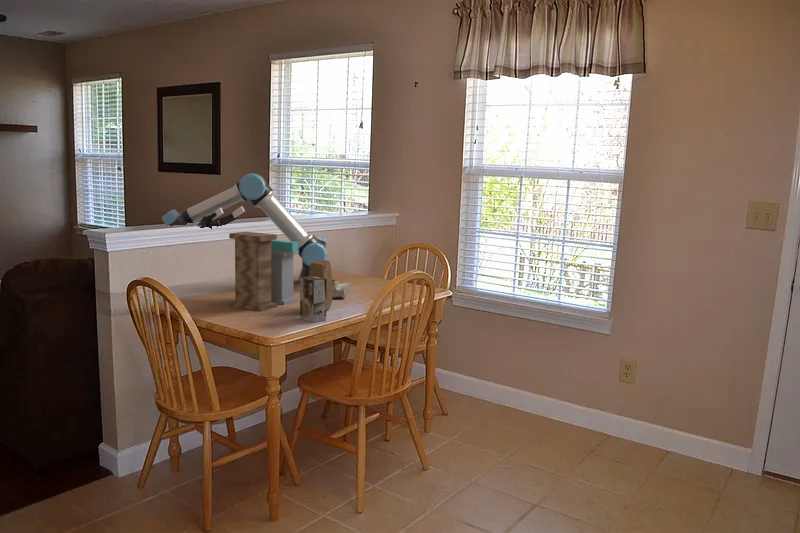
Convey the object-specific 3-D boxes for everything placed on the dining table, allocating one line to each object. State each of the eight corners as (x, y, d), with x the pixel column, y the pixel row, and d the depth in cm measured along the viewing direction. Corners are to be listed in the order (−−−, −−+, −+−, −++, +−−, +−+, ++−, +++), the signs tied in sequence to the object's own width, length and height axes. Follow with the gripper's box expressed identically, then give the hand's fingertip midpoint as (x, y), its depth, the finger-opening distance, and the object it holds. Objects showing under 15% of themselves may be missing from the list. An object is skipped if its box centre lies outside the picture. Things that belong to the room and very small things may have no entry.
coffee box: (327, 320, 235) (327, 278, 233) (313, 322, 231) (313, 280, 228) (312, 315, 242) (313, 275, 239) (299, 318, 237) (299, 276, 235)
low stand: (254, 300, 267) (254, 249, 263) (269, 296, 275) (269, 247, 272) (284, 304, 260) (284, 252, 256) (298, 300, 268) (298, 250, 265)
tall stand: (230, 306, 253) (229, 233, 249) (246, 302, 262) (245, 231, 258) (261, 311, 246) (260, 236, 242) (276, 306, 255) (276, 234, 251)
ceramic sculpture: (350, 280, 271) (316, 283, 268) (351, 300, 272) (317, 302, 269) (347, 276, 281) (314, 279, 278) (347, 295, 283) (315, 297, 279)
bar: (240, 246, 270) (240, 237, 270) (246, 246, 274) (246, 237, 273) (292, 252, 258) (292, 242, 257) (298, 251, 262) (298, 242, 261)
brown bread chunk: (323, 313, 247) (323, 263, 244) (306, 311, 249) (306, 262, 246) (334, 307, 257) (335, 260, 254) (318, 305, 259) (318, 258, 256)
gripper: (224, 236, 293) (254, 215, 283) (185, 241, 271) (216, 219, 261) (218, 222, 294) (248, 200, 284) (178, 226, 272) (208, 203, 262)
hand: (232, 209), depth 272 cm, fingers open, 13 cm apart
